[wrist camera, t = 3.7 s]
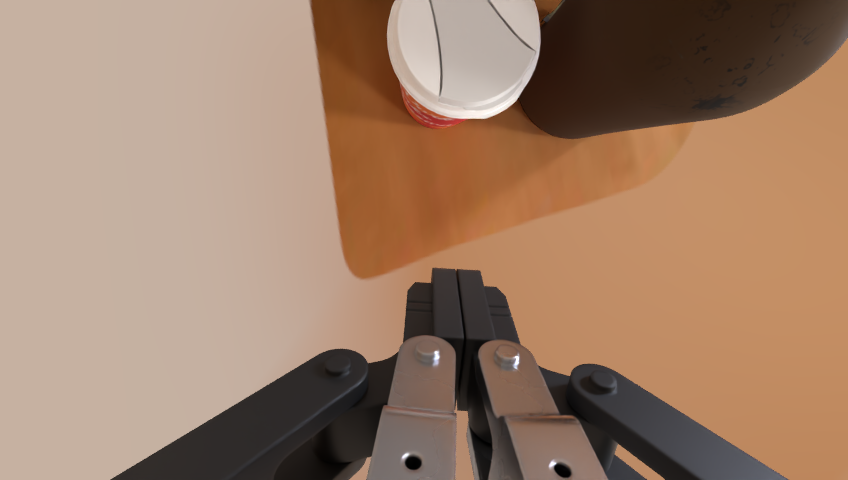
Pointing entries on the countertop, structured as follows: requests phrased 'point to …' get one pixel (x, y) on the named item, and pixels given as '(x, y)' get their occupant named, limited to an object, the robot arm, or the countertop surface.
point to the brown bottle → (673, 60)
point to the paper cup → (462, 56)
